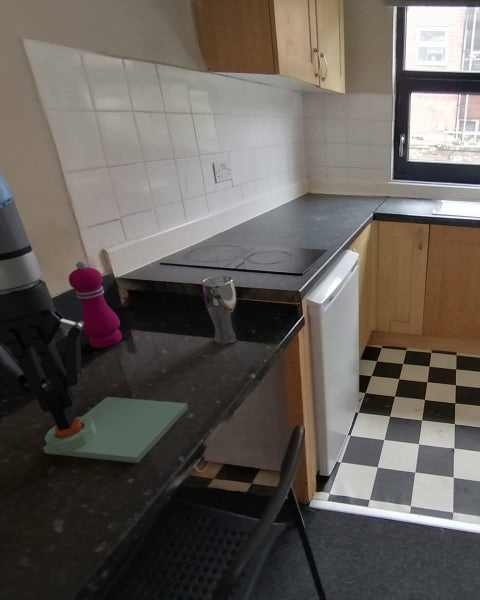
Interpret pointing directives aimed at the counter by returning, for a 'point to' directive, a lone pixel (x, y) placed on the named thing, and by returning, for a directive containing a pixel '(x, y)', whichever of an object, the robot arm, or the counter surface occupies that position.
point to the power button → (69, 429)
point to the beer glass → (222, 308)
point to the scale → (118, 430)
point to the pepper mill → (95, 307)
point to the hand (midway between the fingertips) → (67, 423)
